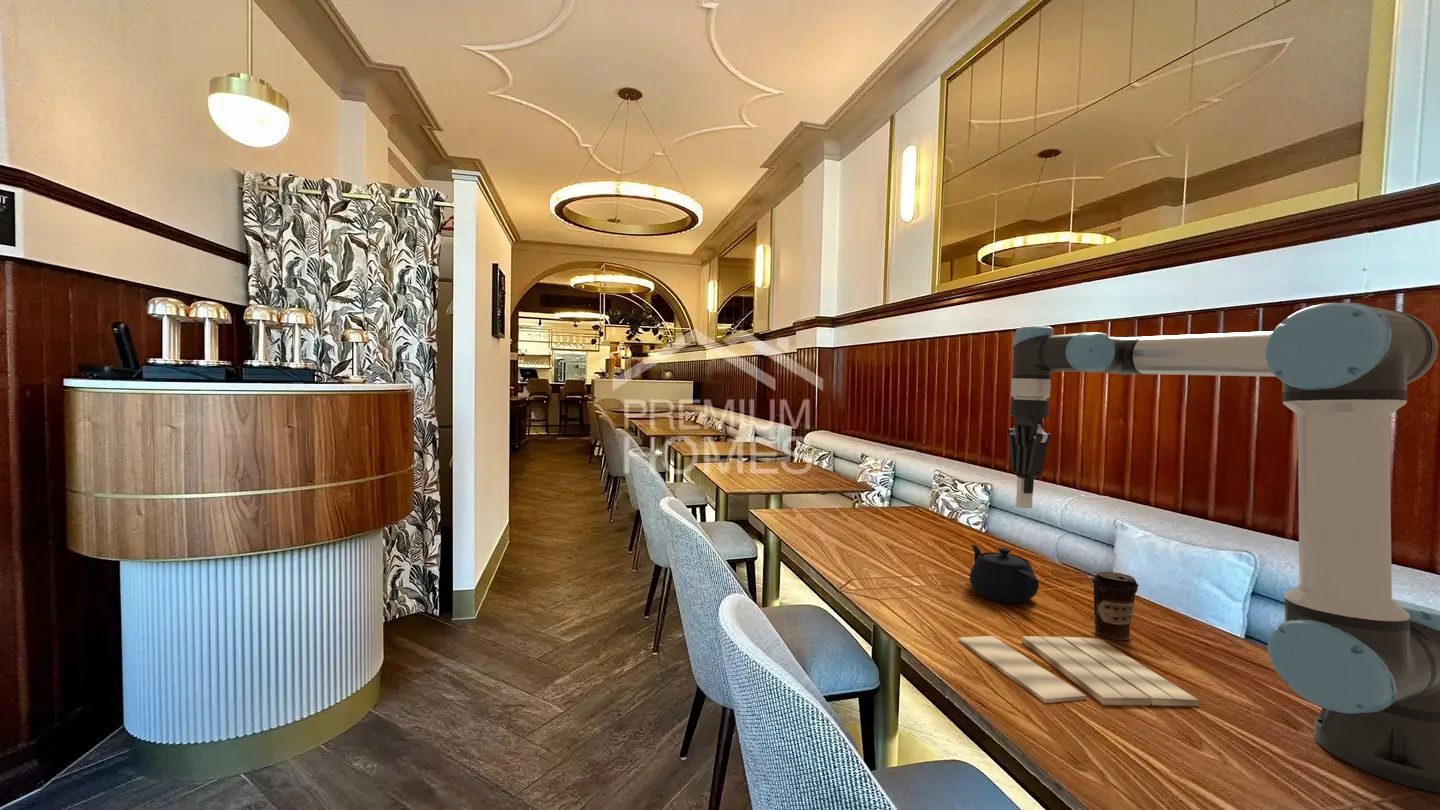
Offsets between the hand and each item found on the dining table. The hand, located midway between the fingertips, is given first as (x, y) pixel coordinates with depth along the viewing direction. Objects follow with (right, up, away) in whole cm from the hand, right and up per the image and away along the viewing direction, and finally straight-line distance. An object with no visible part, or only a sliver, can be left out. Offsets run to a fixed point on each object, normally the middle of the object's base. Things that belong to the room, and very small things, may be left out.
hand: (1023, 507), depth 127 cm
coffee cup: (+19, -28, -1) cm, 33 cm away
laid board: (+1, -27, -18) cm, 33 cm away
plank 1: (-11, -28, -17) cm, 34 cm away
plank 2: (+9, -28, -17) cm, 34 cm away
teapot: (+6, -27, +22) cm, 35 cm away
